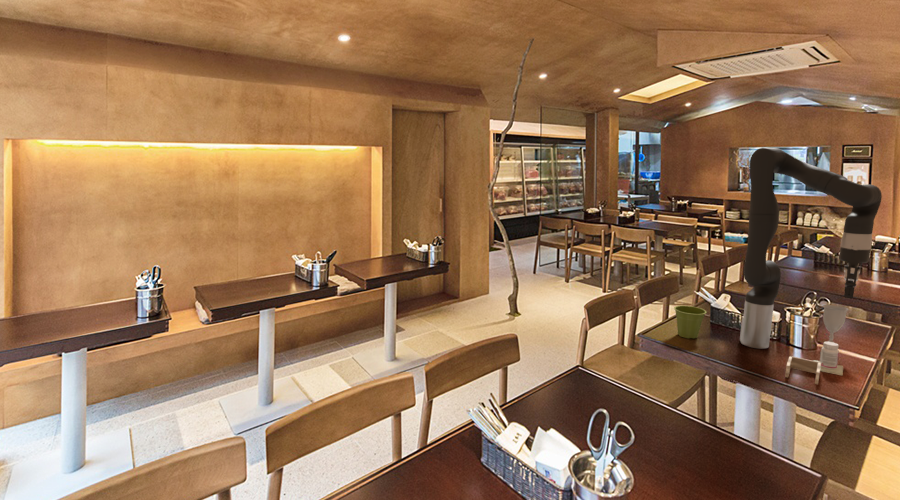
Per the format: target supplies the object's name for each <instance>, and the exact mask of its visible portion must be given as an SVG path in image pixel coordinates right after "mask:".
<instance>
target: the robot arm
mask: <svg viewBox="0 0 900 500" xmlns="http://www.w3.org/2000/svg"><path fill="white" fill-rule="evenodd" d="M749 159H750V160H749V175H750V197H749V199H750V202H749V215H748V234H747V235H748V236H747V246H746V247H747V248H746V254H745V260H744V266H743V277H744V278H743V279H744V281H745V282H746V283H747V285H749V286H753V287H752V288H751V289H750V290H749V291H747V293H746V294H745V297H744V298H745V299H744V307H743V308H744V309H743V310H744V311H743V317H742V318H741V324H740V325H741V326H740V333H739V334H740V336H739V341H740V343H741V344H742V345H744V346H745V347H749V348H752V349H753V348H754V349H759V350H760V349H762V350H763V349H768V348H769V347H770V338H771V330H772V323H773V314H774V305H775V299H776V298H777V297H778V295H779V289H780V283H781V279H782V278H781V277H782V274H781V268H780V266H779V264H777V263H776V262H775V261H773V260H770V259H769V260H768V259H767V254H768V253H767V252H768V249H769V246H770V244H771V242H772V240H773V238H774V237H775V235H776V233H777V231H778V227H779V222H780V221H779V220H780V219H779V218H780V206H779V203H778V200H777V197H776V195H775V191H774V187H773V183H774V182H773V181H774V174H779V175H783V176H787V177H790V178H793V179H796V181H799V182H801V183H802V184H804V185H805V186H806V187H809V188H810V189H813V190H815V191H816V192H817V191H818V192H820V193H823V194H825V195H828V196H831V197H833V198H834V199H836V200H838V201H840V202H841V203H843V204H846V205H848V206H850V207H852V208H851V211H850V213H849V214H848V215H847V216H846V217H845V220H844V226H843V227H844V228H843V232H842V236H841V241H840V248H839V253H838V254H839V255H838V260H840V261H842V262H846V263H847V265H844V269H843V272H844V278H843V279H844V281H845V283H844V293H843V294H844V295H843V296H844V298H846V299H853V298H854V292H855V288H856V286H857V282H858V281H859V276H860V274H861V266H859V264H866V263H869V262H870V257H871V252H872V251H871V250H872V244H873V231H874V224H875V223H874V222H875V218H876V217H877V214H878V211H879V209H880V206H881V202H882V198H883V197H882V191H881V189H880V188H879V187H878V186H877V185H874V184H869V183H868V184H859V183H857V182H853V181H852V180H849V179H848V178H847V177H846V176H843V175H842V174H838V173H837V172H834V171H831V170H827V169H824V168H822V167H819V166H815V165H812V164H811V163H807V162H806V161H805V162H804V161H802V160H801V159H798V158H796V157H795V156H793V155H791V154H789V153H788V152H785V151H784V150H782V149H781V148H778V147H761V148H757V149H756V150H755V151H753V153H752V154H751V157H750V158H749Z"/></svg>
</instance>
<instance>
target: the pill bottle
mask: <svg viewBox="0 0 900 500" xmlns="http://www.w3.org/2000/svg"><path fill="white" fill-rule="evenodd" d="M822 346H823V347H821V350H820V352H821V353H820V354H819V355H820V356H819V361H820V362H821V367H823V368H827V369H836V368H837V365H838V362H839V356H840V355H839V354H840V350H839V344H838V343H837V342H834V341H833V342H828V341H824V342H823V345H822Z"/></svg>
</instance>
